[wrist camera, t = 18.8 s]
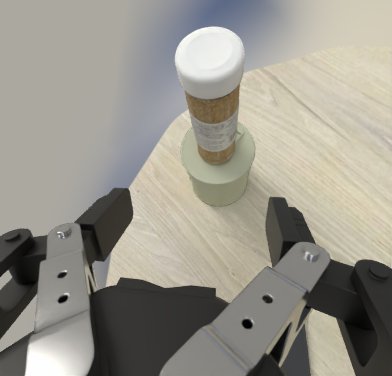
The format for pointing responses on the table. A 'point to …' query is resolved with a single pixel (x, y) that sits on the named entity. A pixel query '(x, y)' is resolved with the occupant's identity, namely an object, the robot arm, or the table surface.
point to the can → (219, 169)
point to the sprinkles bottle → (212, 88)
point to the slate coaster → (297, 357)
